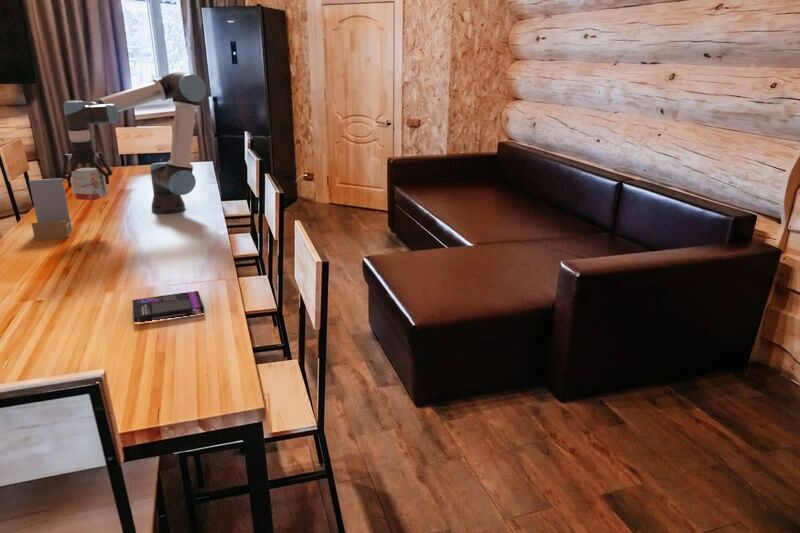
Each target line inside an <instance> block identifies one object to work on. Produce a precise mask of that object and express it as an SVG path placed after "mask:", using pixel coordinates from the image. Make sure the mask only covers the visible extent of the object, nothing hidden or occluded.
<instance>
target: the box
mask: <svg viewBox="0 0 800 533" xmlns="http://www.w3.org/2000/svg"><path fill="white" fill-rule="evenodd" d="M131 303H132V315H133V316H132V319H133V323H134V322H145V321H152V320H160V319H167V318H175V317H183V316H190V315H196V314H202V313H204V314H205V307H204V305H203V304H204V303H203V301H202V298H201V296H200V292H199V290H195V291H186V292H181V293H180V292H179V293H172V294H165V295H158V296H157V295H156V296H152V297H143V298H135V299H132V300H131Z"/></svg>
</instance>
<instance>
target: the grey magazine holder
mask: <svg viewBox="0 0 800 533" xmlns="http://www.w3.org/2000/svg"><path fill="white" fill-rule="evenodd" d="M63 180H64V179H63V178H62V177H61V178H46V179H45V178H44V179H29V180H28V184H29V189H30V193H31V198H32V202H33V203H32V204H33V207H34V213H35V217H36V222H32V223H31V228H32V233H33V238H34V241H45V240H55V239H54V238H57V239H66V238H69V237H70V234H71V232H72V229H73V228H72V227H73V226H72V223H71V218H70V212H69V206H68V201H67V197H66V191H65V185H64V181H63Z"/></svg>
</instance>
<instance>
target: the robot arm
mask: <svg viewBox="0 0 800 533" xmlns="http://www.w3.org/2000/svg"><path fill="white" fill-rule="evenodd" d="M206 94H207V87H206V83H205V81H204V80H203V79H202V78H201V77H200V76H199V75H197V74H194V73H192V72H190V73H189V72H182V71H181V72H180V71H179V72H178V71H177V72H172V73H169V74H166V75H164V76H160V77H158V78H157V77H156V78H154V79H153V80H152V82H148V83H146V84H142V85H140V86H137V87H133V88H129V89H126V90H123V91H119V92H117V93H113V94H110V95H107V96H104V97H100V98H96V99H92V100H88V101H87V100H85V101H84V100H66V101H64V102H63V112H64V118H65V122H66V127H67V132H68V137H69V140H70V147H71V151H72V152H71V153H70V154H68V153H65V154H64V156H63V157H64V164H63V168H62V173H61V178H62V179H63V180H65V179H66V180H67V185H68V188H71V190H72V195H73V196H76V195H75V190H74V185H73V180H72V174H71V172H72V171H75V170H77V167H78V165H79V164H80V165H84V164H85V165H86V164H87V165H89V164H92V166H93V167H94V168H97V169H98V170H99V171H100V172H101V173H102V174H103V181H104V186H105V192H106V194H108V193H109V189H108V185H109V184H110V179H109V176H112V175H113V171H112V169H111V168H110V165H109V164H108V162H107V161H106V160H105V158H104V154H103V152H102V151H98V152H95V151H94V149H93V142H92V140H91V132H90V128H89V127H90V126H89V125H99V124H111V123H116V122H118V121H119V118H120V115H119V113H121V112H124V111H126V110H129V109H132V108H136V107H139V106H143V105H145V104H149V103H151V102H155V101H158V100H161V101H167V100H169V99H170V100H171V99H172V103H173V105H174V106H175V110H174V118H173V119H174V120H173V129H172V138H171V139H172V140H171V148H170V155H169V156H170V157H169V160H167V161H162V162H153V163H151V164H150V166H149V168H150V169H149V170H150V171H149V172H150V178H151V184H152V191H153V192H152V193H153V197H152V202H151V212H152V213H156V214H175V213H179V212H182V210H183V211H185V209H186V204H185V202H184V200H183V198H182V196H185V195H188V194H190V193H191V192H193V190H194V188H195V187H196V184H197V183H196V181H197V180H196V177H195V175H194V174H193V171H194V170H193V169H194V168H193V167H194V166H193V164H192V163H191V157H192V156H191V155H192V148H193V138H194V130H195V129H194V128H195V119H196V111H197V110H198V109H199V108H200V107H201V101H202V100H203V99H204V98H205V96H206ZM95 157H97V158H98V159H99V160H100V162H101V164H102V165H103V167H104V168H103V167H102V166H101V165H100V164H99V163H98V162H97V161H96V160H95V159H94V158H95ZM72 158H73V160H75V161H74V164H73V166H72V167H71V168H70V169H71V170H70V171H69V173H68V175H67V171H68V168H69V161H70V160H71V159H72Z"/></svg>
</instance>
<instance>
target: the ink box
mask: <svg viewBox="0 0 800 533" xmlns="http://www.w3.org/2000/svg"><path fill="white" fill-rule="evenodd" d="M71 174H72V176H71V178H72V180H73V185H74V190H75V195H74V196H75V199H76V200H80V201H81V200H83V201H85V200H86V201H96V200H99V199H102V198H104V197H106V196H107V193H106V192H105V186H104V181H103V176H104V175H103V174H102V173H101V172H100V171H99V170H98V169H97V168H96V167H82V168H78V169H75V171H72V172H71Z"/></svg>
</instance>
